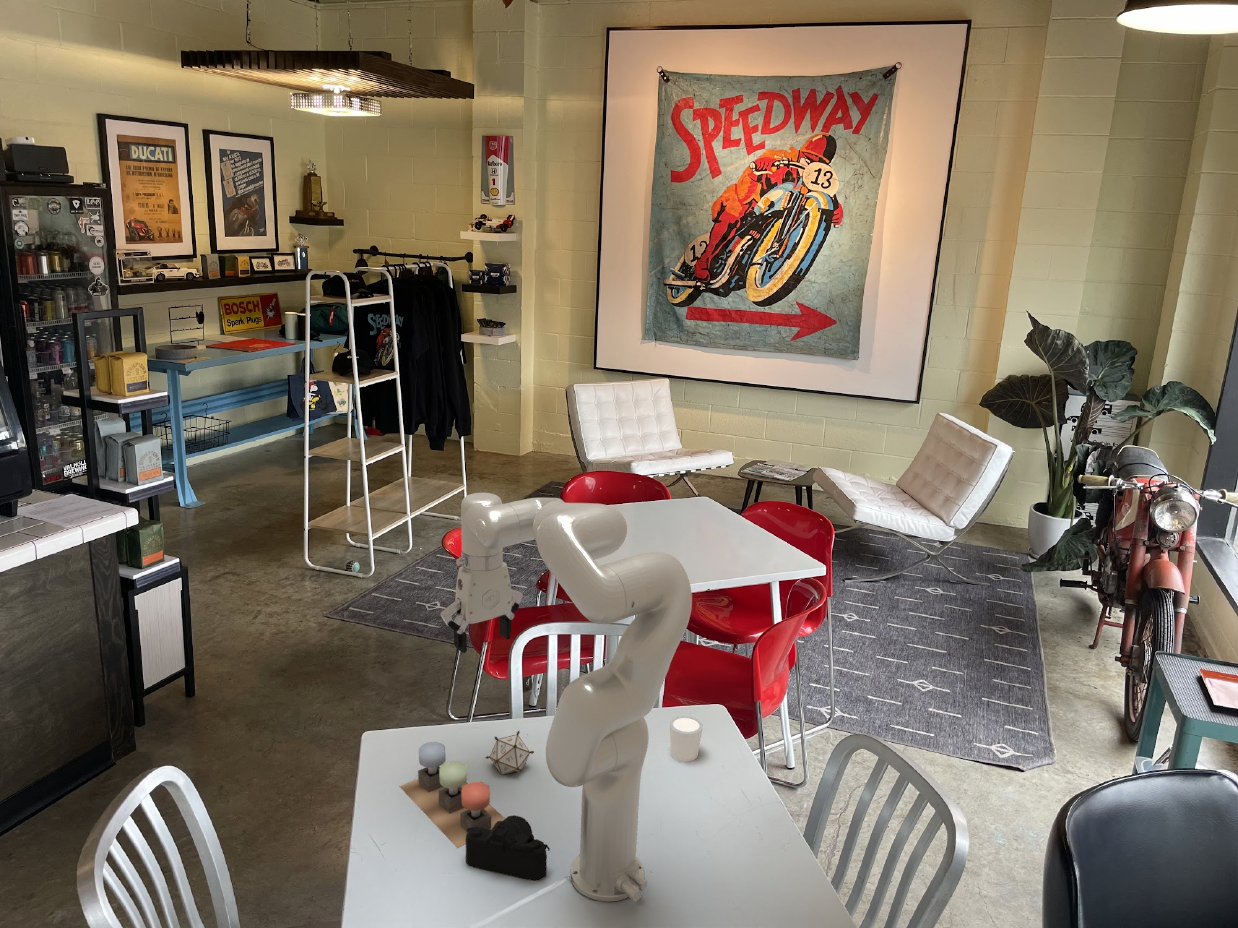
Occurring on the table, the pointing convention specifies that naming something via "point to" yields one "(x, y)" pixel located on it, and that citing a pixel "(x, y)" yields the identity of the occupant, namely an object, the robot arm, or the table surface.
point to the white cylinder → (685, 738)
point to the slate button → (432, 756)
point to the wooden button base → (447, 807)
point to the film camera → (507, 849)
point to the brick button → (475, 797)
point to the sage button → (453, 776)
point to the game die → (509, 754)
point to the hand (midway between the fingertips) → (483, 643)
